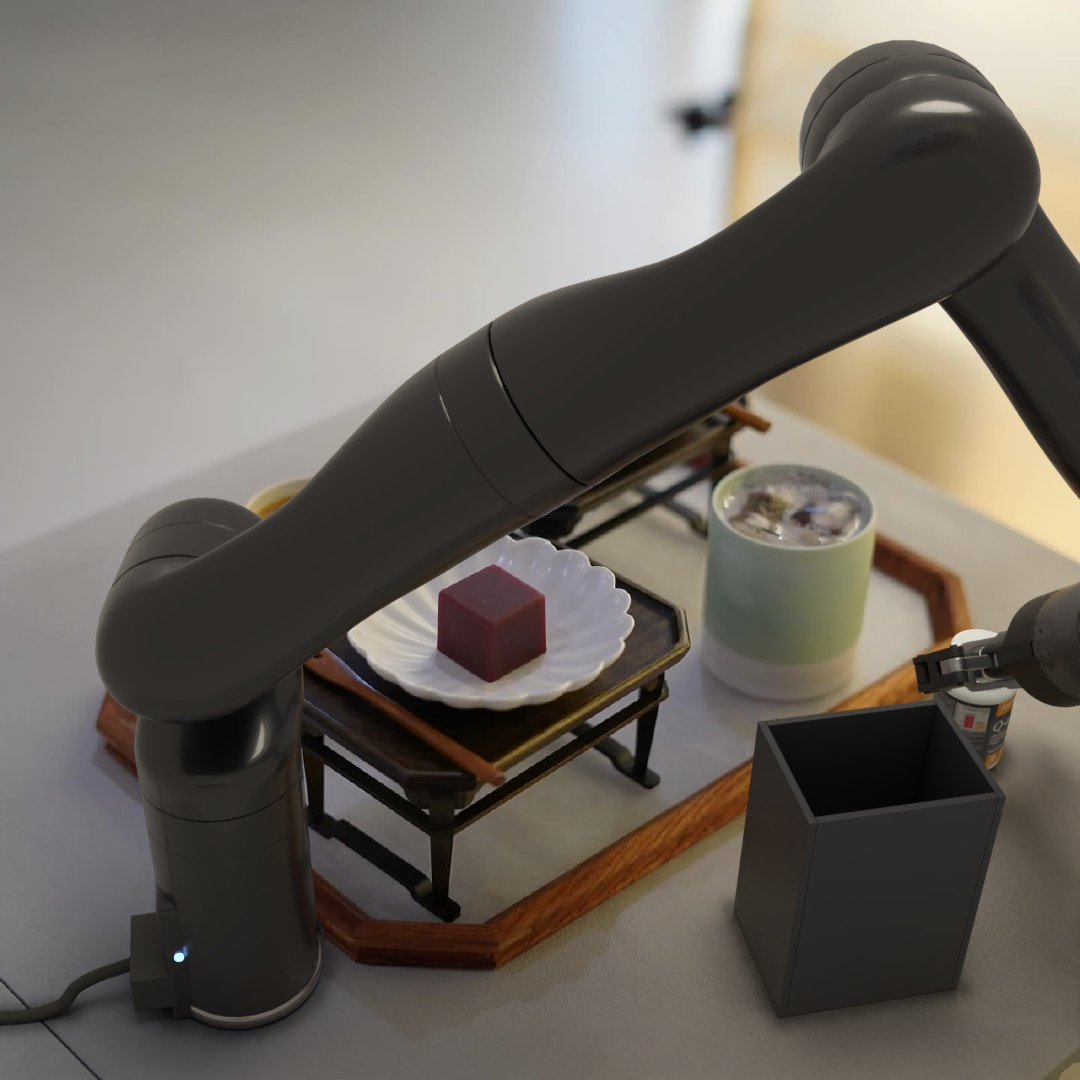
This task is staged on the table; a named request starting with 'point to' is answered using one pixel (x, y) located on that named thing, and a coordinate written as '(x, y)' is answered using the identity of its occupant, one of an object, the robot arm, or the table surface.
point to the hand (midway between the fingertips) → (979, 672)
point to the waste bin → (864, 854)
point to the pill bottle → (980, 708)
